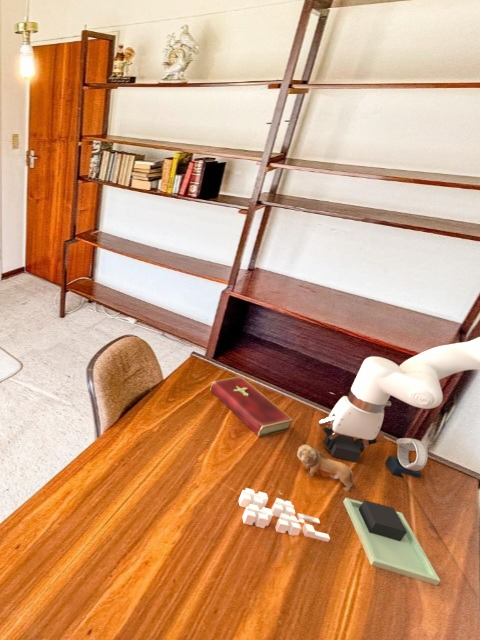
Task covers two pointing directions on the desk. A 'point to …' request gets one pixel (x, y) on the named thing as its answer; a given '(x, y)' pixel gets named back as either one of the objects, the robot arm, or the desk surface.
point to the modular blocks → (277, 515)
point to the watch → (403, 462)
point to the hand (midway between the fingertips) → (341, 449)
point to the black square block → (382, 520)
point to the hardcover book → (251, 406)
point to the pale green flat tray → (392, 548)
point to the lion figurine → (325, 465)
